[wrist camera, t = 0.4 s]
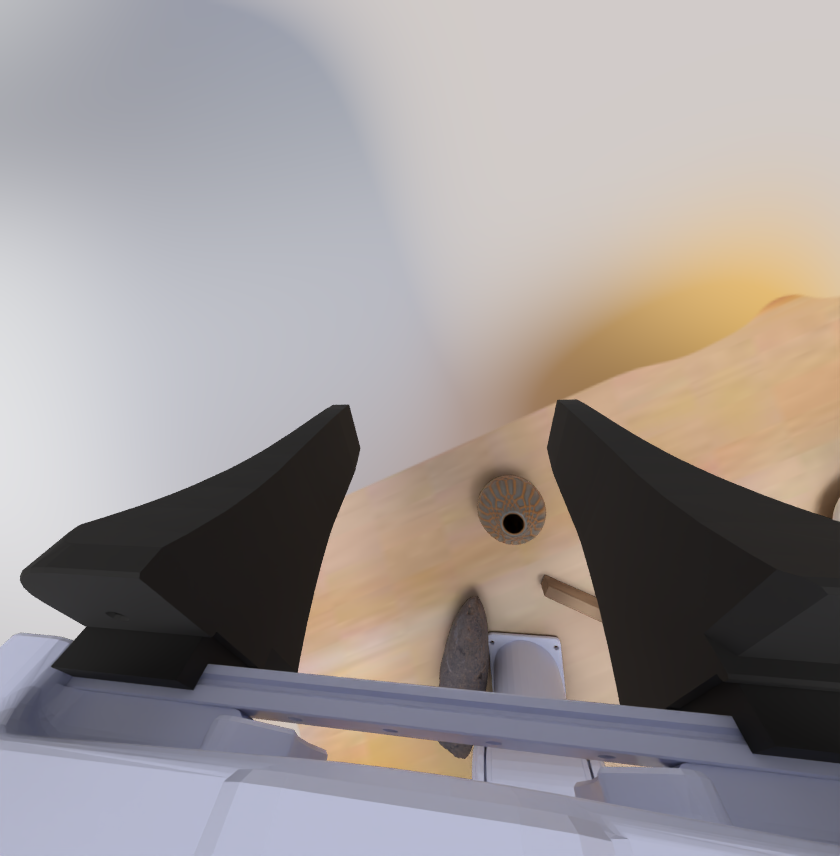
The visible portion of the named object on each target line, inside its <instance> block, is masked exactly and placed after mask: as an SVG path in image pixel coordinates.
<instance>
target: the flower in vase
mask: <svg viewBox="0 0 840 856" xmlns="http://www.w3.org/2000/svg"><path fill="white" fill-rule="evenodd" d="M833 520H836V521H839V522H840V498H839V499H838V501H837V503H836V505H835V509H834V512H833Z"/></svg>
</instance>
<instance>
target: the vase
mask: <svg viewBox="0 0 840 856" xmlns="http://www.w3.org/2000/svg"><path fill="white" fill-rule="evenodd" d="M477 509H478V516H479V519H480V522H481V524H482V526H483V527H484V529H485V530H486V531H487V532H488V533H489V534H490V535H491V536H492V537H493V538H495V539H496V540H498V541H500V542H503V543H506V544H512V545H518V544H523V543H526V542H528V541H530V540H532V539H533V538H535V537H536V536H537V535H538V534H539V532H540V531H541V529H542V527H543V525H544V522H545V518H546V508H545V503H544V500H543V498H542V496H541V494H540V492H539V491H538V490H537V489H536V487H535V486H534V485H532V484H531V483H530V482H528V481H527V480H525V479H523V478H521V477H518V476H512V475H506V476H500V477H497V478H495V479H493V480H491V481H490V482H489V483H488V484H487V485H486V486H485V487H484V488H483V490H482V491H481V493H480V496H479V499H478V506H477Z"/></svg>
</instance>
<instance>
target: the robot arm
mask: <svg viewBox="0 0 840 856" xmlns="http://www.w3.org/2000/svg"><path fill="white" fill-rule="evenodd" d="M547 450H548V454H549V459H550V463H551V467H552V471H553V474H554V477H555V479H556V482H557V484H558V487H559V489H560V492H561V494H562V496H563V499H564V501H565V504H566V506H567V508H568V511H569V513H570V516H571V518H572V521H573V523H574V525H575V528H576V530H577V533H578V536H579V539H580V541H581V544H582V548H583V551H584V555H585V558H586V562H587V565H588V569H589V572H590V576H591V579H592V583H593V587H594V591H595V595H596V598H597V602H598V606H599V610H600V614H601V619H602V623H603V627H604V631H605V636H606V640H607V644H608V649H609V653H610V658H611V663H612V668H613V672H614V677H615V682H616V687H617V692H618V697H619V702H620V705H615V704H605V703H595V702H585V701H575V700H567V698H566V691H565V682H564V672H563V662H562V653H561V643H560V640H559V639H558V638H557V637H551V636H537V635H523V634H509V633H495V632H490V633H489V634H488V644H489V657H490V667H491V677H492V688H493V692H485V691H475V690H465V689H455V688H445V687H435V686H425V685H415V684H405V683H395V682H385V681H375V680H365V679H354V678H344V677H334V676H324V675H314V674H304V673H298V667H299V662H300V656H301V651H302V646H303V641H304V636H305V631H306V626H307V621H308V617H309V613H310V608H311V604H312V600H313V595H314V591H315V587H316V583H317V579H318V575H319V572H320V568H321V564H322V560H323V557H324V553H325V550H326V546H327V543H328V539H329V536H330V533H331V530H332V527H333V524H334V522H335V519H336V517H337V514H338V512H339V509H340V507H341V505H342V502H343V500H344V497H345V495H346V492H347V490H348V487H349V485H350V482H351V480H352V477H353V475H354V472H355V469H356V465H357V461H358V456H359V452H360V445H359V441H358V437H357V433H356V430H355V426H354V422H353V418H352V414H351V410H350V406H349V405H332V406H331V407H329V408H327V409H325V410H324V411H322V412H321V413H319V414H318V415H316V416H315V417H313V418H312V419H310V420H309V421H308V422H306V423H305V424H303V425H302V426H300V427H299V428H297V429H296V430H294V431H293V432H292V433H290V434H289V435H287V436H285V437H284V438H282V439H281V440H279V441H278V442H276V443H274V444H273V445H271V446H270V447H268V448H267V449H265V450H263V451H262V452H260V453H258V454H256V455H255V456H253V457H251V458H249V459H247V460H245V461H244V462H242V463H240V464H238V465H236V466H234V467H232V468H230V469H228V470H226V471H224V472H222V473H219V474H217V475H215V476H213V477H211V478H208V479H206V480H204V481H202V482H200V483H197V484H195V485H193V486H191V487H188V488H186V489H183V490H181V491H178V492H176V493H173V494H171V495H168V496H165V497H163V498H160V499H157V500H155V501H152V502H149V503H146V504H143V505H141V506H138V507H135V508H132V509H128V510H125V511H122V512H119V513H116V514H113V515H110V516H107V517H104V518H100V519H97V520H94V521H91V522H88V523H84V524H81V525H79V526H78V527H76V528H74V529H73V530H72V531H70V532H69V533H68V534H66V535H65V536H64V537H63V538H62V539H60V540H59V541H58V542H57V543H55V544H54V545H53V546H52V547H51V548H49V549H48V550H47V551H46V552H45V553H43V554H42V555H41V556H40V557H38V558H37V559H36V560H35V561H34V562H32V563H31V564H30V565H29V566H27V567H26V568H25V569H24V570H23V571H22V573H21V575H20V581H21V583H22V585H23V587H24V588H25V589H26V590H27V591H28V592H29V593H30V594H31V595H33V596H34V597H36V598H38V599H39V600H41V601H42V602H44V603H46V604H47V605H49V606H51V607H52V608H54V609H56V610H58V611H59V612H61V613H63V614H65V615H67V616H68V617H70V618H72V619H73V620H75V621H77V622H79V623H80V624H82V625H84V626H87V627H86V628H85V629H84V630H83V631H82V632H81V633H80V634H79V636H78V637H77V638H76V639H75V640H74V641H73V640H70V639H67V638H63V637H58V636H51V635H40V634H39V635H38V634H29V633H18V634H15V635H13V636H12V637H11V638H10V639H8V640H7V641H6V643H4V644H3V645H2V646H1V647H0V856H840V522H839V521H836V520H833V519H830V518H827V517H824V516H821V515H818V514H815V513H812V512H809V511H806V510H803V509H800V508H797V507H794V506H792V505H789V504H786V503H783V502H781V501H778V500H775V499H772V498H770V497H767V496H764V495H762V494H759V493H757V492H754V491H752V490H749V489H747V488H744V487H742V486H739V485H737V484H734V483H732V482H729V481H727V480H724V479H722V478H720V477H717V476H715V475H713V474H710V473H708V472H706V471H704V470H702V469H699V468H697V467H695V466H693V465H691V464H689V463H687V462H685V461H682V460H680V459H678V458H676V457H674V456H672V455H670V454H668V453H666V452H665V451H663V450H661V449H659V448H657V447H655V446H654V445H652V444H650V443H648V442H646V441H645V440H643V439H641V438H639V437H638V436H636V435H634V434H633V433H631V432H629V431H628V430H626V429H624V428H623V427H621V426H619V425H618V424H616V423H615V422H613V421H611V420H610V419H608V418H607V417H605V416H604V415H602V414H600V413H599V412H597V411H596V410H594V409H592V408H591V407H589V406H588V405H586V404H584V403H582V402H581V401H579V400H557V403H556V408H555V413H554V417H553V422H552V427H551V431H550V436H549V441H548V445H547ZM491 641H494V643H492V642H491ZM554 646H558V647H557V648H555V647H554ZM252 718H256V719H265V720H273V721H281V722H289V723H297V724H305V725H313V726H321V727H330V728H338V729H346V730H354V731H362V732H370V733H378V734H386V735H394V736H403V737H411V738H419V739H427V740H435V741H443V742H451V743H459V744H467V745H474V749H473V759H472V779H465V778H459V777H452V776H446V775H438V774H431V773H424V772H416V771H409V770H402V769H395V768H387V767H378V766H370V765H361V764H353V763H345V762H335V761H326V760H327V756H328V755H327V752H326V750H324V749H322V748H319V747H317V746H315V745H312V744H310V743H308V742H306V741H305V740H303V739H301V738H300V737H298V735H297V734H296V732H295V731H294V730H292V729H288V728H284V727H280V726H276V725H271V724H267V723H263V722H258V721H254V720H253V719H252ZM604 761H605V762H614V763H622V764H630V765H638V766H646V767H605V764H604Z"/></svg>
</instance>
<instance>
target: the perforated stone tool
mask: <svg viewBox="0 0 840 856" xmlns="http://www.w3.org/2000/svg"><path fill="white" fill-rule="evenodd" d="M488 663H489V644H488V627H487V621H486V616H485V612H484V608H483V605H482V603H481V601H480V599H479V598H478V597H477V596H474V597H471V598H469V599H468V600H467V601H466V602H465V603H464V605H463V606H462V608H461V609H460V611H459V612H458V614H457V616H456V618H455V620H454V622H453V624H452V627H451V630H450V633H449V636H448V639H447V643H446V646H445V650H444V654H443V658H442V662H441V667H440V678H439V679H440V684H439V687H445V688H455V689H465V690H475V691H485V692H486V686H487V678H488ZM438 742H439V743H440V744H441V746H443V747H444V748H445V749H448V751H449V752H451V753H452V754H453V755H454V756H455V757H457V758H462V759H463V758H464V759H465V758H466V757H467V756H468V754H469V753H470V751H471V748H472V746H473V745H467V744H459V743H451V742H443V741H438Z"/></svg>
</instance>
